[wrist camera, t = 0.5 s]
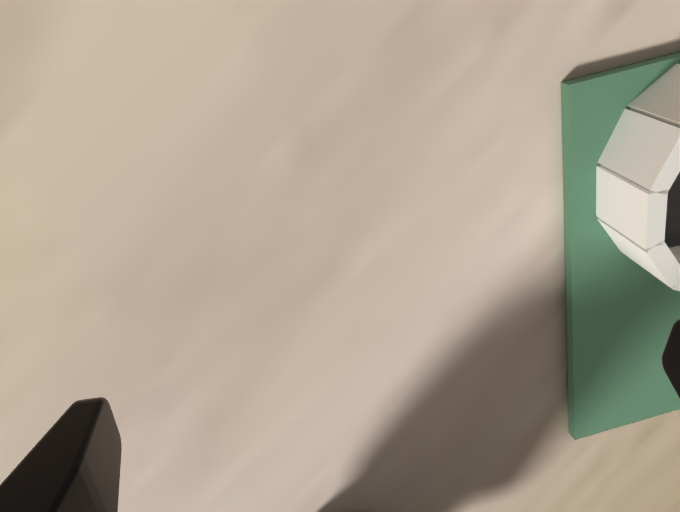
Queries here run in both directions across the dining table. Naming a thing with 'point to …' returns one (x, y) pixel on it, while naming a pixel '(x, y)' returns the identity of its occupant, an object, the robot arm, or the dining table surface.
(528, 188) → the dining table surface
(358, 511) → the dining table surface
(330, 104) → the dining table surface
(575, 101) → the putting green
